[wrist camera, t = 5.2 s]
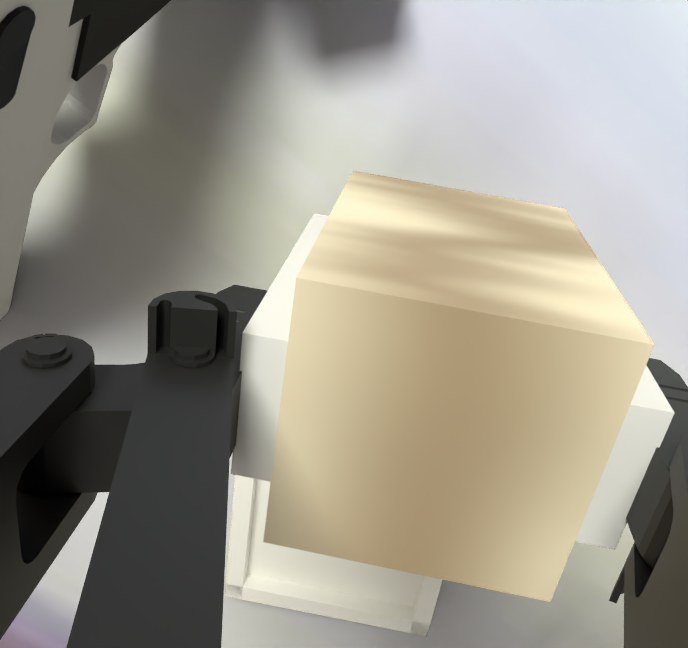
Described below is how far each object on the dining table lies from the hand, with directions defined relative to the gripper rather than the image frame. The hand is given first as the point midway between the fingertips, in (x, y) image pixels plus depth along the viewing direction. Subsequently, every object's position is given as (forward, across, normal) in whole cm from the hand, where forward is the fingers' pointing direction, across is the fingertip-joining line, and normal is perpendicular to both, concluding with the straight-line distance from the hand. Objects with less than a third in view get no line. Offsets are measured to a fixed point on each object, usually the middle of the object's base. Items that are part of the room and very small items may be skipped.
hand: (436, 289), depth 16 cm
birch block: (0, 0, 0) cm, 0 cm away
